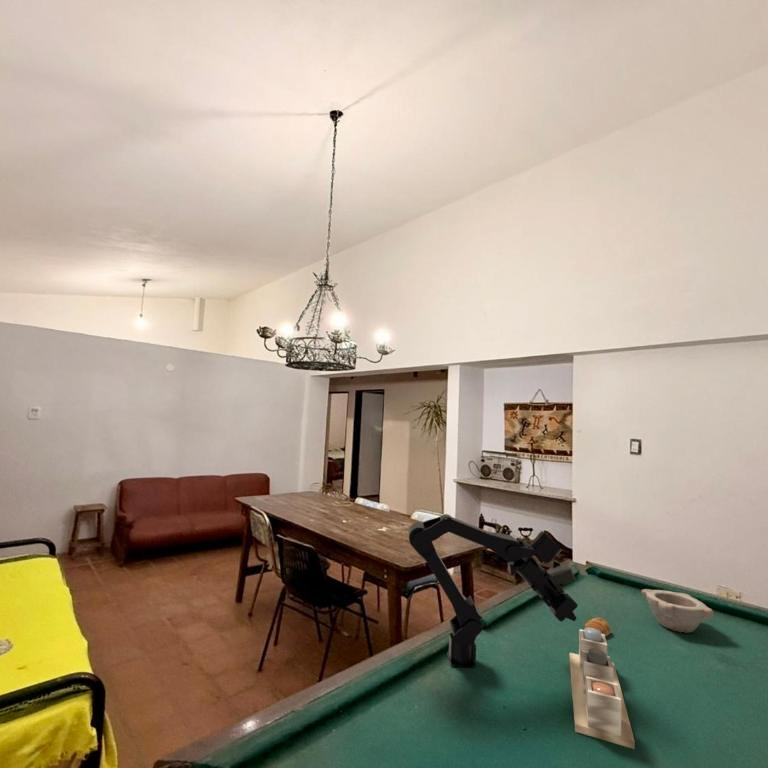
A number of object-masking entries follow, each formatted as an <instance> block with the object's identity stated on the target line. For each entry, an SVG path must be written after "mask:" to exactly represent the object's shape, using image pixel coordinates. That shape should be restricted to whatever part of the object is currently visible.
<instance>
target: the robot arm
mask: <svg viewBox="0 0 768 768" xmlns="http://www.w3.org/2000/svg"><path fill="white" fill-rule="evenodd" d="M407 533H408V542H409V544H410V546H412V548H413V549H414V550H415V552H416V553H417V554H418V555H419V556H421V558H422V559H423V560H425V562H426V563H427V565H428V567H429V569H430V570H431V572H432V573H433V575H434V576H435V578H436V580H437V582H438V583H439V585H440V587H441V589H442V590H443V591H444V594H445V595H446V597H447V599H448V600H449V603H451V605H452V607H453V610H454V613H455V616H453V617H452V618H451V619H450V620H449V625H450V628H451V632H449V633H448V635H449V638H448V651H446V652H447V653H446V654H447V656H448V657H447V658H448V660H449V664H450V666H451V667H455V666H464V667H463V668H476V663H475V662H476V660H477V644H476V642H475V641H476V638H477V636H479V635H480V634H481V632H482V630H483V622H482V619H483V616H482V614H481V611H480V609H479V607H478V606H477V605H476V604H475V602H474V600H473V598H472V596H471V595H469V596H468V597H466V596H465V595H464V594H463V593H462V592H461V590H460V588H459V586H458V585H457V583H456V581H455V580H454V578H453V577H452V575H451V574H450V572H449V570H448V568H447V567H446V565H445V563H444V562H443V559H442V558H441V557H440V555H439V553H438V552H437V550H436V547H435V545H434V542H435V541H436V540H437V539H439V538H440V537H442V536H444V535H446V534H447V533H450V534H453V535H455V536H458V537H460V538H463V539H465V540H468V541H470V542H473V543H475V544H477V545H481V546H482V547H486V548H487V549H489V550H490V551H492V552H493V553H494V554H496V555H497V556H499V557H500V558H502V559H504V560H505V561H507V568H506V570H507V572H508V573H509V575H510V576H514V575H515V574H517V573H518V574H519V576H521V577H522V579H523V580H524V581H525V582H526V583H527V584H528V585H529V587H530V588H531V589H532V590H533V591H534V592H535V594H537V596H538V597H539V598H540V599H541V600H542V601H543V602H544V603H545V604H546V606H547V607H548V608H549V609H550V612H551V613H552V615H553V616H555V618H556V619H557V621H559V622H561V623H562V622H564V620H566V619H569V620H571V621H573V622H575V621H577V616H576V614H575V613H574V611H575V610H576V609H577V608H578V605H579V604H578V603H577V602H576V601H575V600H574V599H573V597H571V596H570V595H569V594H568V593H565V591H564V590H563V587H562V586H564V585H566V584H570V583H574V582H575V581H576V577H575V574H574V573H573V570H572V568H571V567H570V566H569V565H568V564H567V563H564V562H562V563H560V562H559V561H557V560H556V559H555V560H554V558H556V557H557V556H558V555H559V554H560V553H561V552H562V551H563V548H562V547H561V546H560V545H559V544H558V543H557V542H556V541H554V540H553V538H551V537H550V536H549V535H548V534H547V533H546V532H544V530H541V531H539V533H538V534H537V536H536V537H535V538H534V539H532V541H531V542H529V543H528V542H527V541H524V540H519V539H516V538H515V537H513V536H512V535H511V534H505V533H501V532H492V531H487V530H485V529H483V528H481V527H478V526H475V525H474V524H471V523H468V522H465V521H463V520H460V519H458V518H455V517H453V516H451V515H450V514H448V513H447V514H446V513H445V514H442V515H440V516H438V517H434V518H431V519H427V520H425V521H423V522H414V523H412V524H411V525H410V526H409V528H408V531H407ZM534 557H535V559H536V560H537V561H538V562H539V563H540V564H541V565H542V564H544V565H548V564H549V563H550V567H549V570H546V569H545V568H543V567H542V566H541V565H540V564H539V563H538V562H537V561H536V560H535V559H534ZM465 666H466V667H465Z"/></svg>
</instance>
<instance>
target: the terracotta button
mask: <svg viewBox="0 0 768 768" xmlns="http://www.w3.org/2000/svg"><path fill="white" fill-rule="evenodd" d="M593 691H595V692H599V693H603V694H607V695H611V696H613V689H612V688H611V687H610V686H608V685H606V684H604V683H600V682H595V683H593Z"/></svg>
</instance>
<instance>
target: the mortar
mask: <svg viewBox="0 0 768 768" xmlns="http://www.w3.org/2000/svg"><path fill="white" fill-rule="evenodd" d="M641 594H642V597H643V599H644V601H646V602H647V603H648V606H649V607H650V610H651V611H652V614H653V616H654V617H655V619H656V621H657V622H658V623H659V625H661V626H662V627H664V628H666V629H668V630H670V629H671V631H674V632H677V631H678V632H677V633H682V632H684V634H689V633H693V632H694V631H695V630H696V629H697V628H698V627H699V626H700V624H701V623H702V622H703V621H707V620H708V621H709V620H710V619H712V618H713V617H714V611H713V609H712V608H710V607H708V606H707V605H706V604H705V603H703V602H702V601H700V600H698V599H696V598H695V597H692V596H691V595H690V594H688V593H684V592H675V591H671V590H665V589H664V590H662V589H650V588H649V589H648V588H644V589H641Z"/></svg>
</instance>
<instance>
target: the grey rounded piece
mask: <svg viewBox="0 0 768 768" xmlns="http://www.w3.org/2000/svg"><path fill="white" fill-rule="evenodd" d="M607 656H608V654H607V655H606V653H604V652H603V651H601V650H598V649H589V650H588V662H590V663H594V664H599V665H603V666H607Z"/></svg>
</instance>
